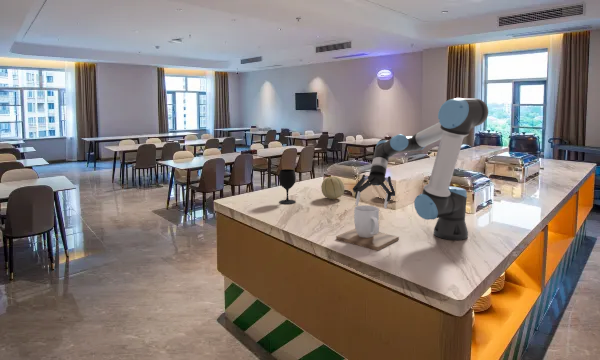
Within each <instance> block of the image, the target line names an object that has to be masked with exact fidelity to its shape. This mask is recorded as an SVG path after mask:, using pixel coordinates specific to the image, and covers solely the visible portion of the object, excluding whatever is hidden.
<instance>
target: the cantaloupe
mask: <svg viewBox="0 0 600 360" xmlns="http://www.w3.org/2000/svg"><path fill="white" fill-rule="evenodd" d="M320 186H321V194H322V195H323V196H324V197H325V198H326V199H329V200H337V199H339V198H341V197H342V196H343V195H344V193H345V184H344V182H343V180H342V179H341V178H339V177H338V176H331V175H327V177H326V178H325V179H323V181H322V183H321V185H320Z"/></svg>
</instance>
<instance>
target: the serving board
mask: <svg viewBox="0 0 600 360" xmlns="http://www.w3.org/2000/svg"><path fill="white" fill-rule="evenodd" d="M399 237H400V236H398V235H393V234H388V233H385V232H380V231H378V233H377V234H376V235H374V236H373V237H371V238H363V237H360V236H359V235H358V234H357V232H356V228H353V229H350V230H348V231H345V232H343V233H341V234H338V235H336V236H335V240H338V241H340V242H345V243H349V244H351V245H355V246H359V247H363V248H367V249H370V250H373V251H380V250H381V249H383V248H385V247H387V246H390V245H392V244H393V243H396V242H398V241H399V240H400V238H399Z"/></svg>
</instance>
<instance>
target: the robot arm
mask: <svg viewBox="0 0 600 360" xmlns="http://www.w3.org/2000/svg"><path fill="white" fill-rule="evenodd" d="M488 116H489V107H488V106H487V103H486V102H485V101H484V100H482V99H480V98H477V97H471V98H468V97H467V98H462V97H456V98H451V99H448V100H446V101H444V103H442V105H441V106H440V107H439V110H438V113H437V118H438V120H439V121H438V122H437V123H435V124H433V125H431V126H429V127H427V128H425V129H423V130H420V131H419V132H417V133H414V134H413V135H408V136H407V135H405V134H404V135H403V134H401V133H398V134H396V135H394V136H392V138H390V139H388V140H385V139H384V140H379V141H378V142H377V143H376V146H375V149H374V152H373V153H374V154H373V157H372V162H371V167H370V171H369V175H366V174H363V175H361V178H360V180H359V181H358V182H357V183H356V184H355V185H354V186H353V187H352V191H353V193H355V194H354V198H355V207H356V206H359V203H360V198H361V194H362V192H363V191H364V190H366V189H368V187H370V186H379V185H381V186H382V187H383V189H384V190H385V191H386V193H387V194H386V198H385V199H384V203H383V207H384V210H385V209H387V207H388V203H390V202H391V200H392V199H391V196H395V191H394V188H393V186H392V185H393V184H392V179H391V176H387V177H386V175H387V169H388V164H389V159H390V158H391V157H393V156H394V155H396V154H398V153H406V152H407V153H408V152H419V151H423V150H424V149H425V148H426V147H427V146H430V145H431V144H434V143H436V142H438V141H439V144H438V149H437V153H436V156H435V159H434V163H433V167H432V169H431V173H430V174H431V175H430V177H429V180H428V184H425V185H424V186H423V189H422V191H421V193H420V194H418V195H417V196H416V197H415V198H414V204H413V205H414V209H415V211H416V214H417V215H418V216H419V217H420V218H422V219H423V220H427V221H429V220H436V219H437V221H436V223H435V226H434V228H433V235H434V236H435V237H437V238H440V239H444V240H449V241H461V240H462V239H463V240H466V239H467V238H468V236H469V231H468V227H467V225H466V224H467V223H466V211H467V209H466V208H467V198H468V196H467V194H468V193H467V190H466V189H465V188H461V187H457V186H452V185H451V182H452V178H453V176H454V172H455V168H456V165H457V162H458V158H459V154H460V151H461V148H462V145H463V142H464V138H466V137H467V136H469V135H470V132H471V129H473V128H475V127H479V126H480V125H482V124H483V123H485V121H486V120H487V119H488ZM384 182H387V183H388V184H389V186H390V189H391V191H392V192H390V191H389V189H388V188H387V187H386V185H385V184H386V183H384ZM390 199H391V200H390ZM463 240H462V241H463Z"/></svg>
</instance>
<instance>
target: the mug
mask: <svg viewBox="0 0 600 360" xmlns="http://www.w3.org/2000/svg"><path fill="white" fill-rule="evenodd" d="M353 211H354V212H353V213H354V215H353V218H354V221H353V222H354V227H355V228H356V232H357V234H358V235H359V236H360V237H363V238H371V237H373V236H374V235H376V234H377V233H378V232H380V225H379V217H380V215H379V214H380V213H379V211H380V210H379V207H377V206H374V205H369V204H368V205H367V204H365V205H361V204H360V205H358V206H356V205H355V207H354V210H353ZM355 228H354V229H355Z"/></svg>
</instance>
